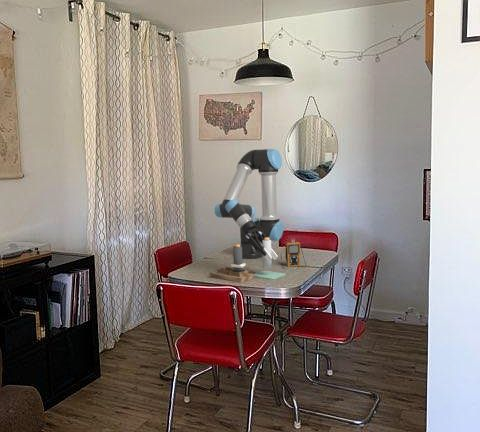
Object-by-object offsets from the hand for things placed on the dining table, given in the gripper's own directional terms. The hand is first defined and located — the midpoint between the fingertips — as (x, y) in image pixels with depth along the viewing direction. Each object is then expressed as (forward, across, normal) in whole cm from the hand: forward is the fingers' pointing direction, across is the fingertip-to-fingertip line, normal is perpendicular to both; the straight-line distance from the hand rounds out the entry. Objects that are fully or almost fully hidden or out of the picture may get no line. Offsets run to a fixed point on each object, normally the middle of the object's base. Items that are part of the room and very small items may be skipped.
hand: (273, 258), depth 246 cm
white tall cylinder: (+1, 0, -6) cm, 6 cm away
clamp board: (-5, +12, -18) cm, 23 cm away
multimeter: (+5, -24, -8) cm, 26 cm away
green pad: (+4, -1, -9) cm, 10 cm away
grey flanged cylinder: (-4, +12, -14) cm, 19 cm away
